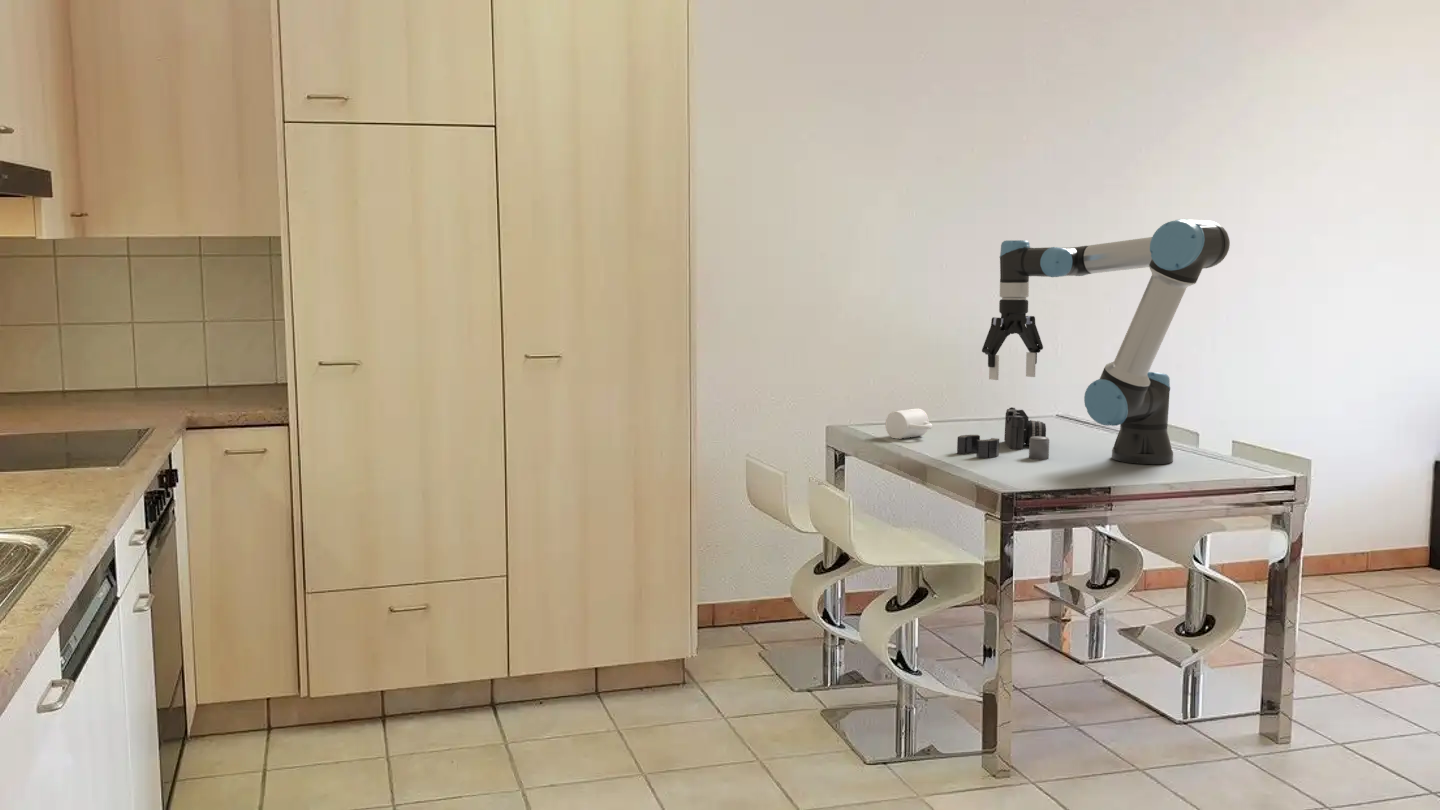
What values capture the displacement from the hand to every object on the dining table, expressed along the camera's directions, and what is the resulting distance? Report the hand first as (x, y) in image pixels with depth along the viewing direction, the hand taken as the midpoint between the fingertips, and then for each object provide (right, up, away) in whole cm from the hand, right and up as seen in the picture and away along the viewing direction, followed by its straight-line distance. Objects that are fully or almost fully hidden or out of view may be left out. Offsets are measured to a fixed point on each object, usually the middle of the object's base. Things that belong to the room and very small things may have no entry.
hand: (1012, 378), depth 355 cm
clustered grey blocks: (-10, -20, -6) cm, 24 cm away
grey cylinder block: (+5, -21, -10) cm, 24 cm away
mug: (-24, -17, +21) cm, 36 cm away
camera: (+5, -19, +9) cm, 22 cm away
